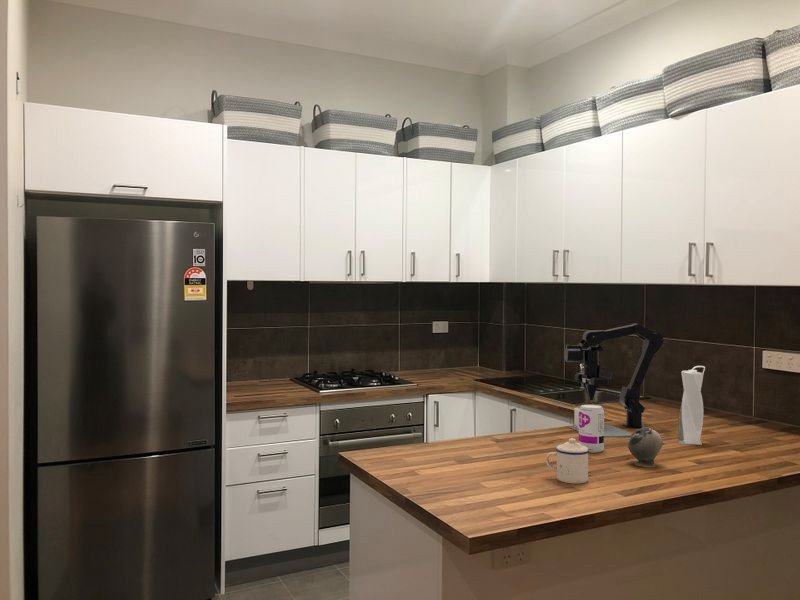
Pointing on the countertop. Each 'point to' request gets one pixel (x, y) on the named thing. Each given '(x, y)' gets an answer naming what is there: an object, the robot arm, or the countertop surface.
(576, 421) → the milk carton
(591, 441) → the supplement can
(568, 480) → the teacup with lid
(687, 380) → the white tall faceted vessel
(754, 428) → the countertop surface
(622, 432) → the mat
